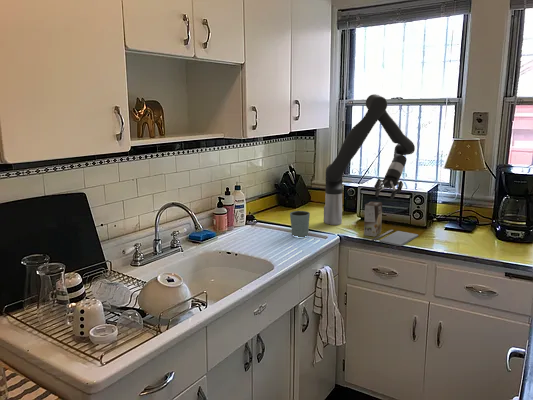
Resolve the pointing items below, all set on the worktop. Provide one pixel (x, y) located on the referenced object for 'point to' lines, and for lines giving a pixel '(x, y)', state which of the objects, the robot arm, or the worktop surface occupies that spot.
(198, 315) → the worktop surface
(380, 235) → the tan thin rod
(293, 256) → the worktop surface
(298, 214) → the grey green cup
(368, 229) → the coffee box
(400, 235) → the mat
